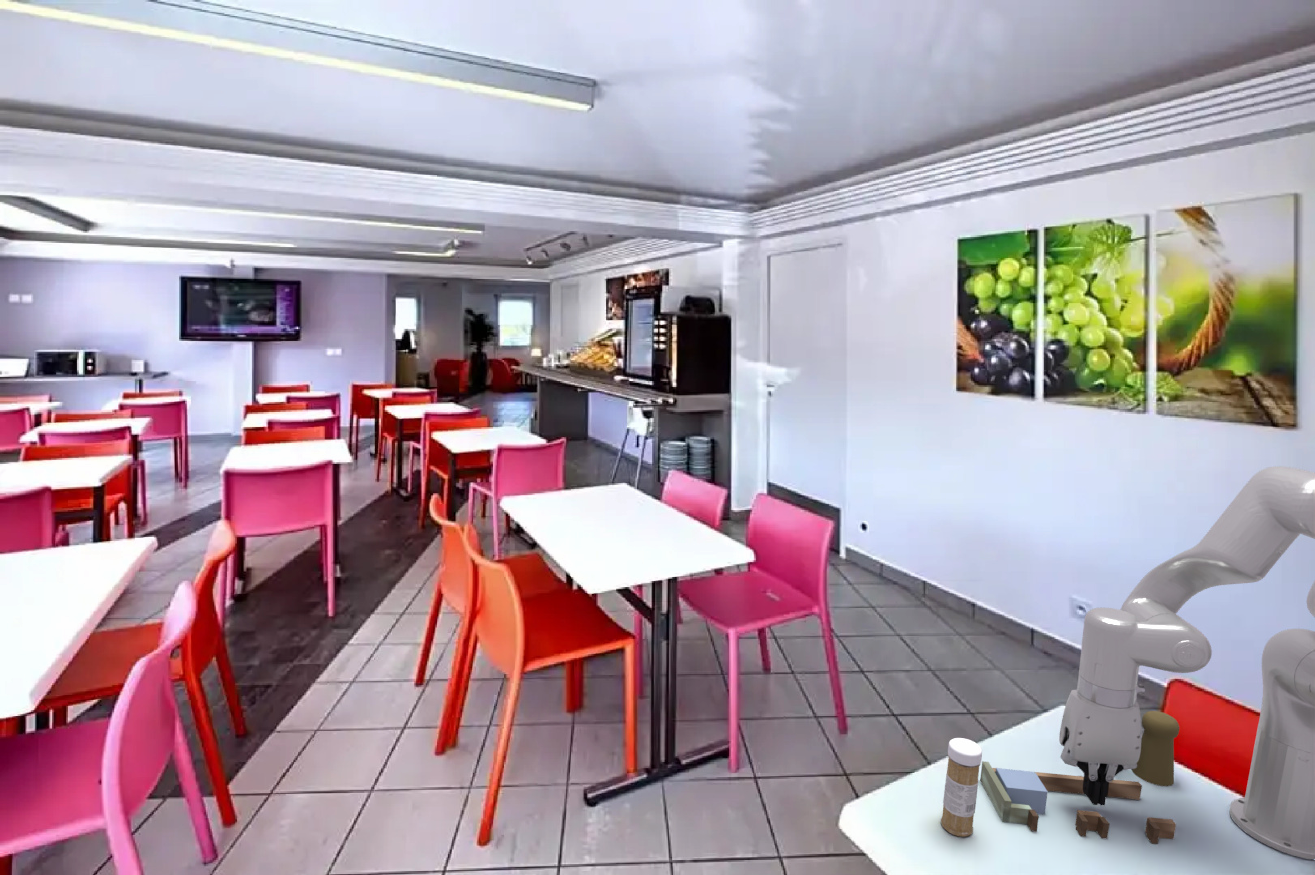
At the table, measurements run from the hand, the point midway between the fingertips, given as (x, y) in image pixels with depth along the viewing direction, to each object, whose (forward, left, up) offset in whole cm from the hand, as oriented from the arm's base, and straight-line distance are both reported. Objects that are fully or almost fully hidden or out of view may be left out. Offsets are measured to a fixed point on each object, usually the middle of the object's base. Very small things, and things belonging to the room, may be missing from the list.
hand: (1094, 799), depth 111 cm
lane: (+3, 0, -2) cm, 4 cm away
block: (+11, -1, -2) cm, 11 cm away
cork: (-15, -12, -2) cm, 19 cm away
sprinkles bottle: (+23, +7, -2) cm, 24 cm away
